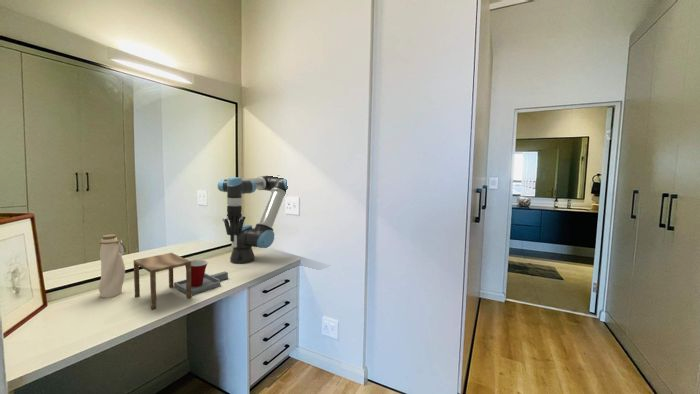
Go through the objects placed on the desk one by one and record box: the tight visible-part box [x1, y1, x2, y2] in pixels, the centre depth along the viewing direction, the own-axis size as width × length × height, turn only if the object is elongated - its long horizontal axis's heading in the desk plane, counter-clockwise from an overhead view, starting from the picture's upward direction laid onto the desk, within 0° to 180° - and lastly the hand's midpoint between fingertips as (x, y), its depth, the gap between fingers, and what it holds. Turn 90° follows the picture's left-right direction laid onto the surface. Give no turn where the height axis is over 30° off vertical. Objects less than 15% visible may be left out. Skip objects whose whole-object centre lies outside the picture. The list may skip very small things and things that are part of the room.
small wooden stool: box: [133, 252, 192, 311], centre depth 133 cm, size 16×20×17 cm
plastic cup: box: [184, 259, 209, 287], centre depth 146 cm, size 11×11×12 cm
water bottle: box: [98, 233, 127, 298], centre depth 134 cm, size 10×9×28 cm
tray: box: [173, 271, 229, 296], centre depth 150 cm, size 24×16×3 cm, turn 144°
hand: (234, 246), depth 162 cm, fingers closed
